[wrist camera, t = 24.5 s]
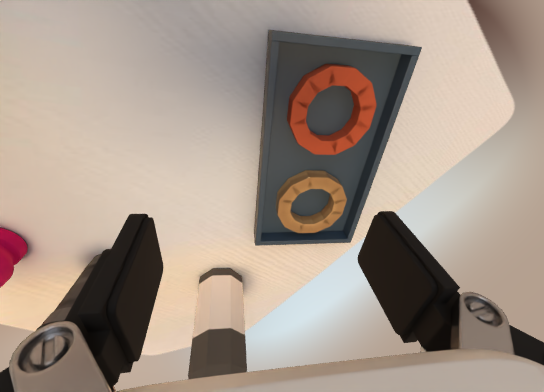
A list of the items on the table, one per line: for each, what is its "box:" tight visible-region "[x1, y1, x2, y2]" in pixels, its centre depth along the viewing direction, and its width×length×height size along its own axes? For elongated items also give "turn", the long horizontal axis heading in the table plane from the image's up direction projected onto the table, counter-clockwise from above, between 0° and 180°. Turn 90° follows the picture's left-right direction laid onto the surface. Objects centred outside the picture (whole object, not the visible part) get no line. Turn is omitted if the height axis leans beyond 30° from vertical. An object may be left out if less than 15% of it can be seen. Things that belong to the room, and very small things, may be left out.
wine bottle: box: [188, 269, 247, 379], centre depth 34 cm, size 8×8×30 cm
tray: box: [254, 30, 422, 245], centre depth 33 cm, size 28×16×3 cm, turn 175°
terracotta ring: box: [287, 64, 376, 155], centre depth 29 cm, size 10×10×2 cm
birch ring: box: [276, 170, 347, 233], centre depth 37 cm, size 10×10×2 cm
